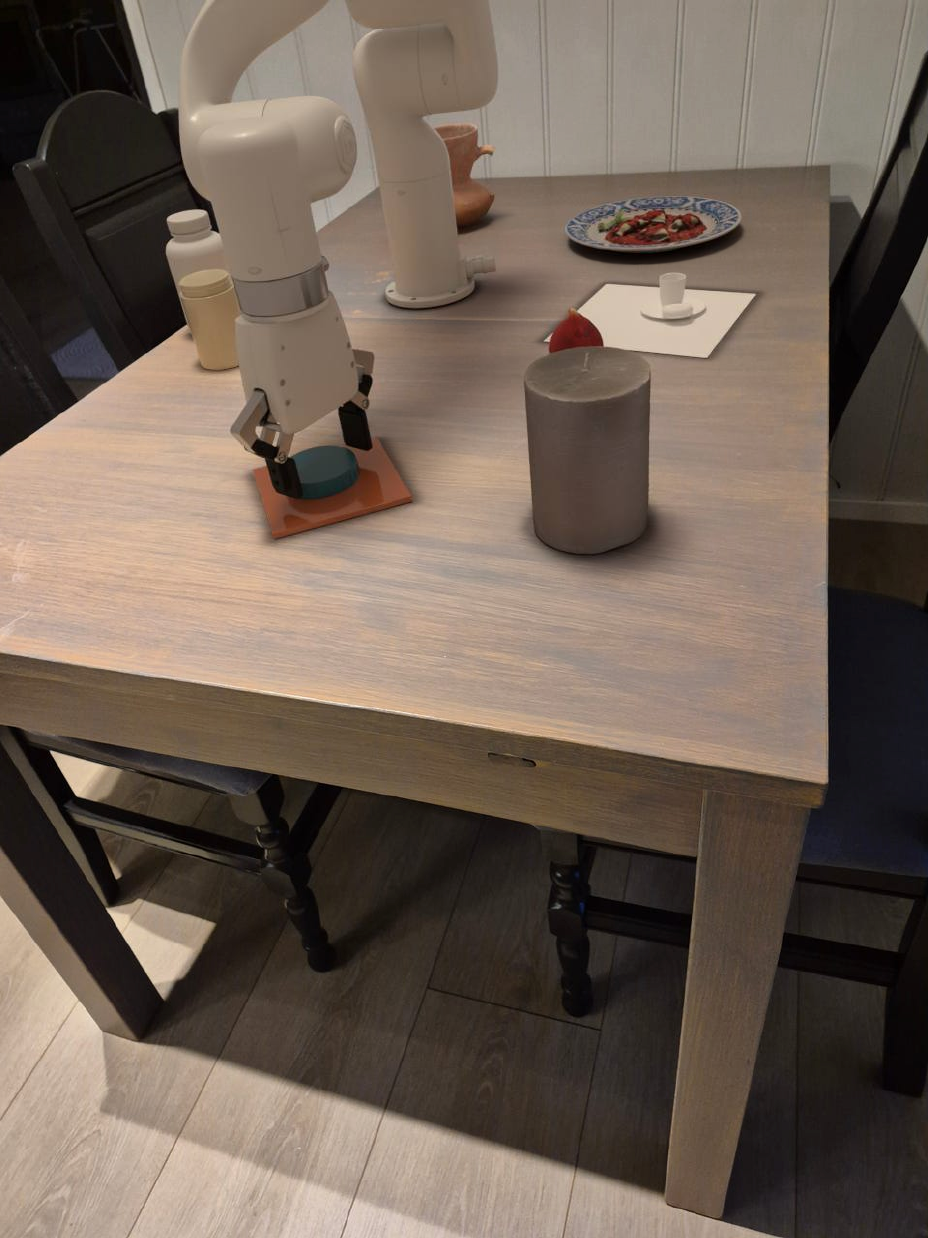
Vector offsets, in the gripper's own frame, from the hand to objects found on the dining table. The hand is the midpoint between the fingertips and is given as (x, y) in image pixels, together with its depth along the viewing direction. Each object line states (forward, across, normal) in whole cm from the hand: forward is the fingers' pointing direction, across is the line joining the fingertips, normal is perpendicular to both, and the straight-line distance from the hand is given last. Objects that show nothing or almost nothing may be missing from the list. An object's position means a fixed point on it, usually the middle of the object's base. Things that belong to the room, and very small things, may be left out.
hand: (325, 470), depth 84 cm
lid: (0, 0, -1) cm, 1 cm away
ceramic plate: (+2, -78, -6) cm, 78 cm away
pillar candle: (+2, -6, +26) cm, 26 cm away
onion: (+2, -30, +10) cm, 31 cm away
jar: (+2, -18, -35) cm, 40 cm away
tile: (+2, 0, 0) cm, 2 cm away
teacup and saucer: (+2, -49, +9) cm, 50 cm away
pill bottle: (+2, -26, -45) cm, 52 cm away
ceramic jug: (+2, -75, -42) cm, 86 cm away
